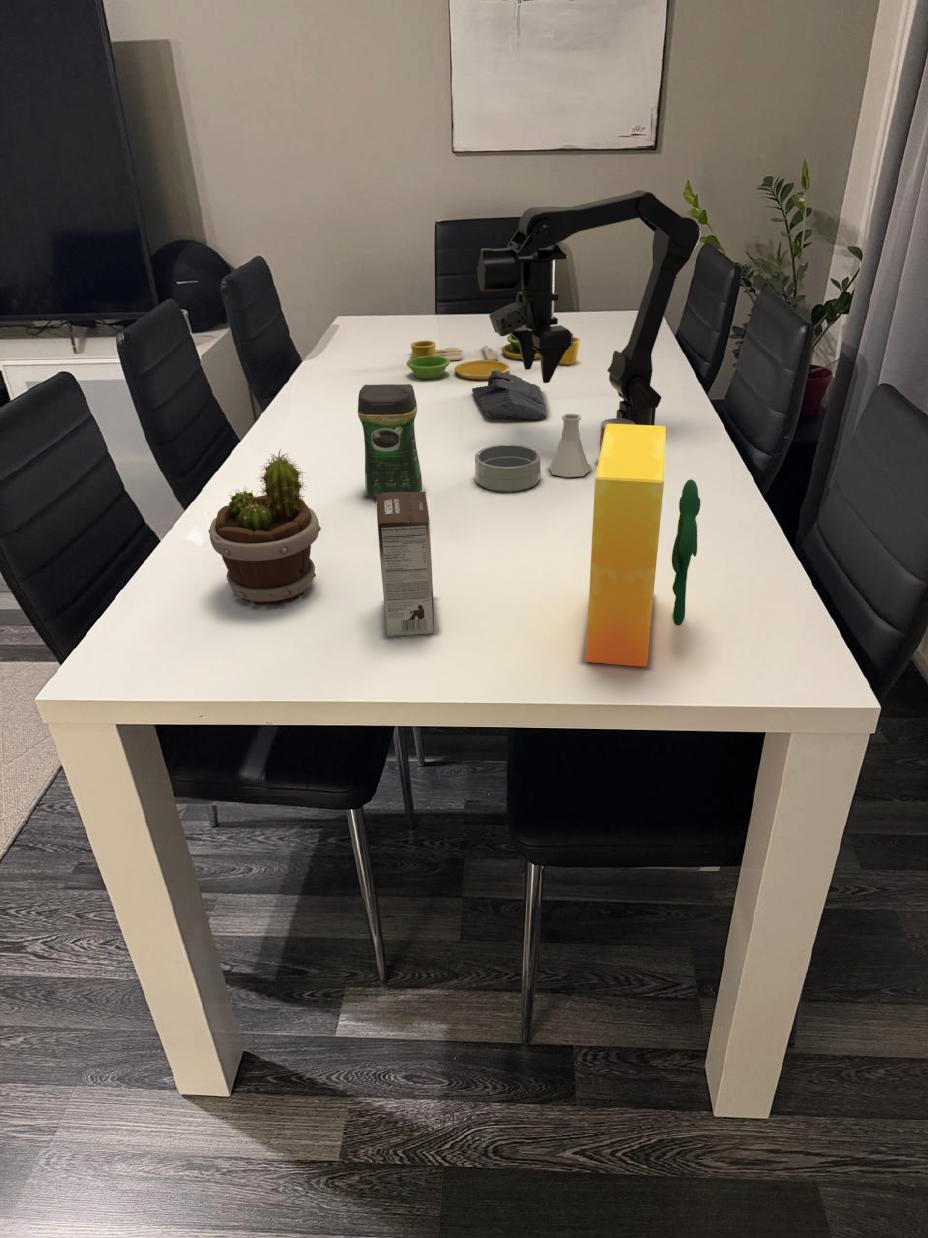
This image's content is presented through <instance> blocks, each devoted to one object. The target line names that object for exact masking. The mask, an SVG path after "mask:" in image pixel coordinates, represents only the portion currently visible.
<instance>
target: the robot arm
mask: <svg viewBox="0 0 928 1238" xmlns="http://www.w3.org/2000/svg"><path fill="white" fill-rule="evenodd" d="M636 219H639V220H640V221H641V222H642V223H643V224H644V225H645V226H646V227H647V228H648V229H650V230H651V231H652V232H653V239H652V247H651V249H652V251H651V253H652V267H651V271H650V273H649V277H648V281H647V283H646V286H645V289H644V293H643V296H642V299H641V301H640V305H639V308H638V312H637V315H636V317H635V321H634V324H633V327H632V330H631V334H630V337H629V338H628V339H629V340H628V343H627V344H626V346H625V347H624V348H623V349H622V351H618V350H614V351H613V353H612V359H611V363H610V366H609V367H608V369H607V372H608V373H609V375H608V380H609V383H610V386H611V387H612V388H613V389H615V391H616V392H617V394H618V397H619V398H621V399H622V400H620V401H619V403H618V404H619V405H618V406H619V407H618V409H617V410H616V417H615V418H621V419H627V420H631V421H633V422H634V423H635V425H654V426H655V423H656V422H655V421H656V411H657V408H658V407H659V405H660V403H661V400H662V396H661V395H660V394H659V392H658V391H656V390H655V389H654V387H652V386H651V383H652V376H653V366H654V365H653V350H654V347H655V345H656V341H657V339H658V335H659V333H660V330H661V327H662V326H661V325H662V323H663V320H664V317H665V314H666V311H667V307H668V305H669V302H670V299H671V296H672V293H673V291H674V287H675V283H676V280H677V278H678V275H679V273H680V271H681V270H682V269H683V268H684V266H686V264H687V263H688V261H690V259H691V257H692V255H693V253H694V251H695V249H696V247H697V245H698V243H699V242H700V238H701V229H700V226H699V224H698V222H697V221H696V220H694V219H693V218H691V217H689V216H685V215H682V214H679V213H678V212H676V211H675V210H673V209H672V208H670V207H669V206H667V205H666V204H665V203H664V202H662V201H661V200H660V199H658V198H657V196H656V195H655V194H654V193H652V192H650V191H647V190H643V189H636V190H635V191H632V192H630V193H626V194H621V195H617V196H613V197H608V198H604V199H599V200H596V201H590V202H585V203H582V204H578V205H573V206H533V207H530V208H527V209H526V210H524V211H523V213H522V215H521V216H520V218H519V222H518V228H517V230H516V231H515V233H514V234H513V236H512V237H511V239H510V241H509V242H508V244H507V245H506V248H505V247H504V248H503V247H502V248H487V247H486V248H481V249H480V257H479V259H478V266H477V267H476V271H477V272H476V273H477V274H476V275H477V282H478V287H479V290H480V292H493V291H507V290H514V289H516V286H519V283H521V291H517V293H516V295H515V301H514V302H512V303H510V304H507V305H505V306H503V307H501V308H499V309H497V310H495V311H493V312H491V313H490V314H489V315H488V316H489V320H490V323H491V325H492V327H493V331H494V333H496V334H498V335H499V336H500V337H506V336H509V335H510V333H511V334H512V335H513V336H514V337H515V338H516V339H517V342H518V345H519V349H520V352H521V356H522V359H521V360H522V363H523V368H524V370H526V371H527V370H531V369H532V366H533V363H534V360H535V359H534V357H535V354H536V351H537V352H538V353H539V355H540V358H539V361H540V362H539V363H540V371H541V378H542V383H544V384H549V383H550V382H551V381H552V378H553V376H554V374H555V372H556V370H557V368H558V366H559V364H560V363H559V362H560V360H561V359H562V357H563V355H564V353H565V352H566V350H568V349H569V347H570V346H572V345H573V337H574V334H573V333H572V332H571V331H570V329H568V328H567V327H564V325H561V324H560V325H558V324H559V318H558V317H556V316H555V301H559V294H558V293H557V292H555V278H556V276H555V275H556V274H555V273H556V261H561V260H567V258H568V255H567V254H566V253H565V252H564V251H563V250H562V249H561V247H560V245H559V243H561V242H564V241H565V240H567V239H568V238H570V237H571V236H573V235H575V234H578V233H580V232H584V231H589V230H593V229H596V228H601V227H605V226H610V225H614V224H618V223H619V224H620V223H622V222H627V221H631V220H632V221H633V220H636Z"/></svg>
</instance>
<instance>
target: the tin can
mask: <svg viewBox="0 0 928 1238" xmlns="http://www.w3.org/2000/svg"><path fill="white" fill-rule="evenodd" d="M607 424H630V425H635V423H634V422H633V421H631V420H627V419H621V418H616V417H615V418H614V417H613V418H608V419H607V418H606V419H604V420H602V421H601V422H600V430H599V431H600V432H599V433H600V434H599V453H598V458H599V457H600V452H601V447H602V442H603V437H604V432H605V427H606V425H607Z"/></svg>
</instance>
